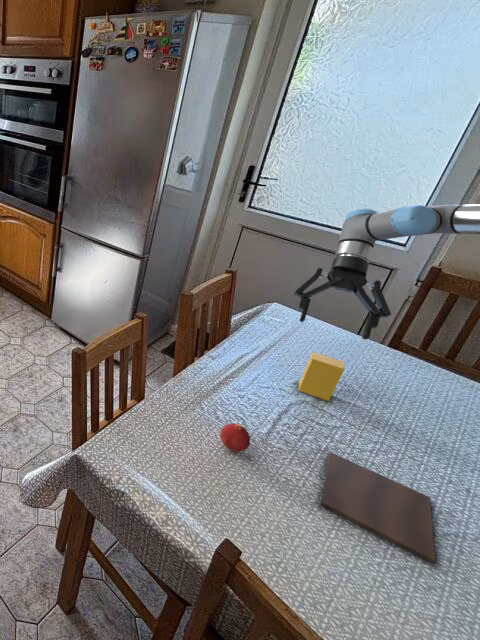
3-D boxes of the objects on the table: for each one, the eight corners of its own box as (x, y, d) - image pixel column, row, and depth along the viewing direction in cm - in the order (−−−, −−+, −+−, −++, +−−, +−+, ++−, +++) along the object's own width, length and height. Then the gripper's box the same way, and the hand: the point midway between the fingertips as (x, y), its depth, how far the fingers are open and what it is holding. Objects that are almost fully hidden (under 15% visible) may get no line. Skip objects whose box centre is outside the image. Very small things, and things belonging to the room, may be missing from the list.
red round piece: (218, 434, 100) (226, 410, 97) (246, 445, 97) (255, 421, 93) (215, 451, 96) (223, 426, 92) (244, 463, 93) (254, 439, 89)
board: (427, 500, 84) (429, 497, 84) (432, 564, 74) (435, 560, 74) (328, 454, 94) (330, 451, 94) (320, 505, 84) (322, 502, 83)
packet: (328, 393, 111) (344, 361, 107) (328, 401, 109) (344, 369, 104) (298, 383, 115) (312, 352, 110) (298, 390, 112) (312, 358, 108)
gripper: (406, 277, 113) (389, 348, 109) (294, 254, 127) (275, 317, 123) (418, 267, 107) (400, 343, 103) (299, 244, 121) (280, 310, 117)
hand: (332, 329), depth 113 cm, fingers open, 13 cm apart
